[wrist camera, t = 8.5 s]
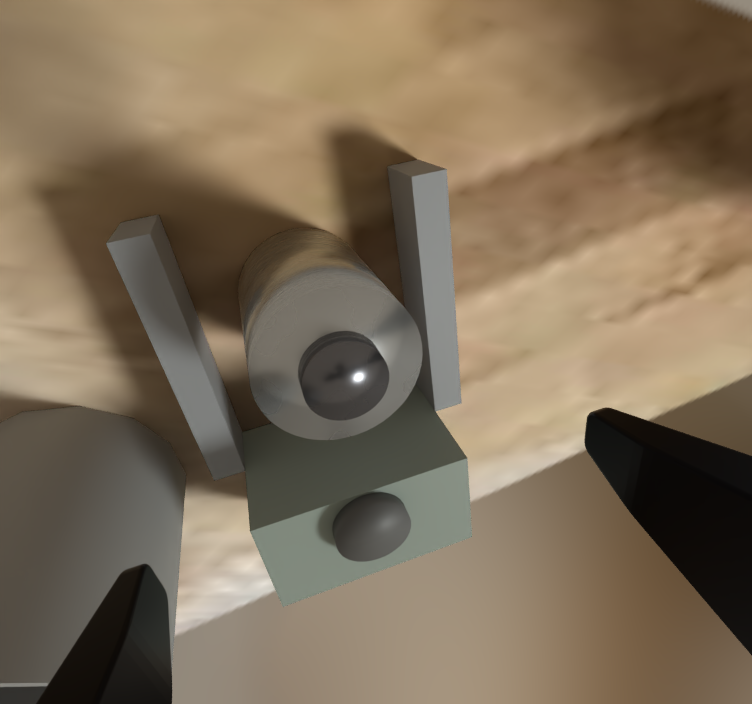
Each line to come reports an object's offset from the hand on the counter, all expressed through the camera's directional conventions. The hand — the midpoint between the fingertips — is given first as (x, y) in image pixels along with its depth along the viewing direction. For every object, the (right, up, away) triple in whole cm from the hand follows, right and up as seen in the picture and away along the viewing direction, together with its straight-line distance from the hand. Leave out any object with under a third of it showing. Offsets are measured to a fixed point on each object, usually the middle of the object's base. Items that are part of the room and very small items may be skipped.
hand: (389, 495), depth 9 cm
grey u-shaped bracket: (-3, +3, +11) cm, 11 cm away
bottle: (-3, +5, +9) cm, 11 cm away
